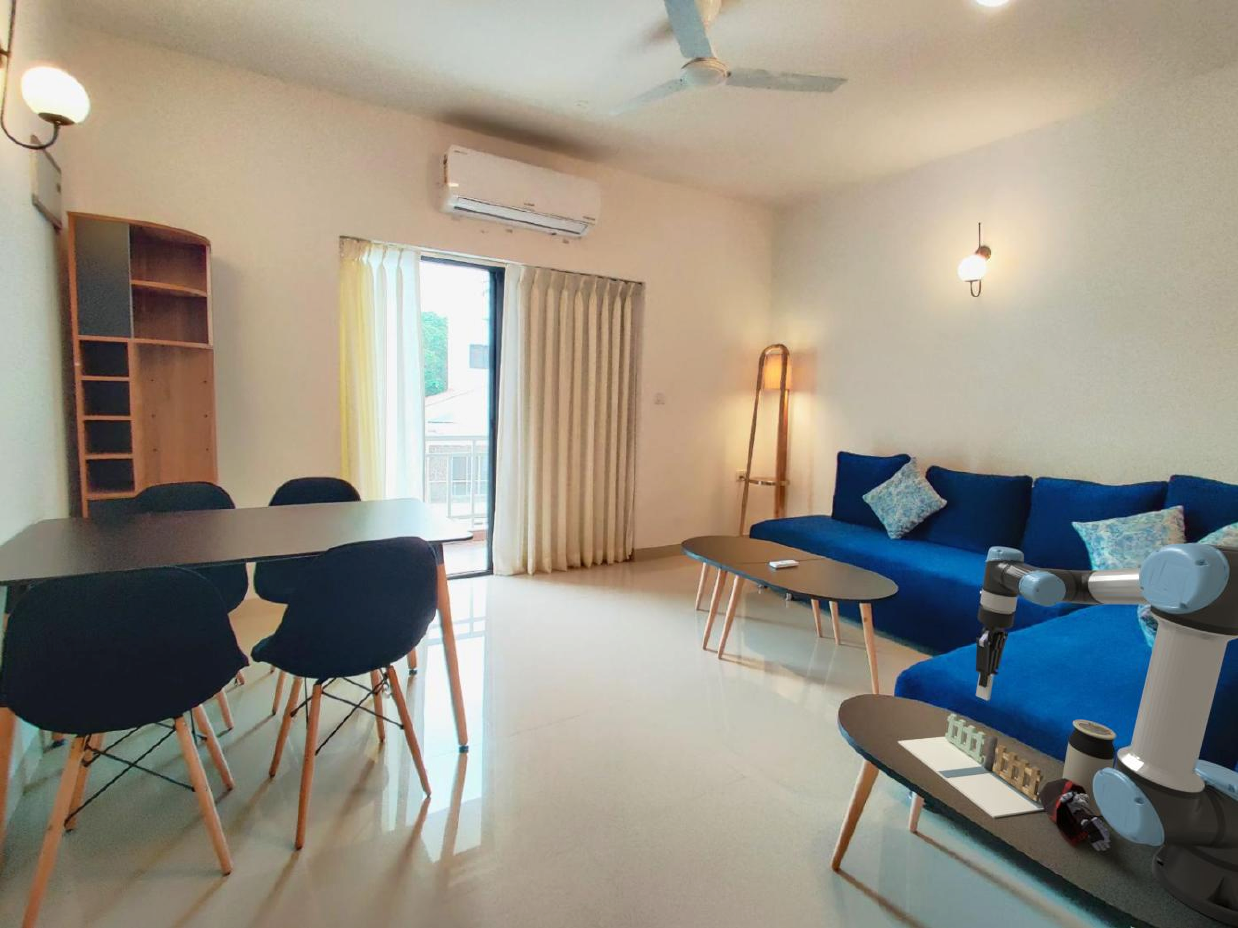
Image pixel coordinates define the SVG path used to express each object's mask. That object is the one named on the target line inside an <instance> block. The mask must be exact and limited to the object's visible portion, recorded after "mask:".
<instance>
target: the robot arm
mask: <svg viewBox="0 0 1238 928" xmlns="http://www.w3.org/2000/svg"><path fill="white" fill-rule="evenodd" d="M986 556H987V557H986V560H985V568H984V573H983V574H984V575H983V581H982V589H981V590H980V591H979V595H981V596H980V601H979V603H980V604H981V605H979V607H978V613H977V620H978V621H979V622H980V623H982V624H983V627H982V629H981V633H980V636H981V637H978V636H977V637H976V638H975V643H976V653H975V654H976V655H975V656H976V657H975V658H976V659H975V670H974V671H976V672H978V673H979V674H978V679H977V680H978V681H977V685H976V693H975V696H976V697H978V698H981V699H983V700H985V701H990V699H991V694H992V687H993V683H994V676H998V675H999V672H998V670H999V669H1000V664H1001V661H1002V657H1003V656H1002V655H1003V652H1004V649H1005V645H1006V642H1007V639H1008V637H1009V633H1008V632H1006V631H1005V629H1006V630H1007V629H1011V628H1012V627H1013V625H1014V620H1015V613H1014V612H1016V607H1017V602H1018V597H1019V596H1020V597H1021V598H1023V599H1026V600H1027V601H1028V602H1031V603H1033V604H1037V605H1039V606H1042V607H1053V606H1054V605H1057V604H1060V603H1072V604H1085V605H1095V606H1104V605H1150V608H1149V613H1150V614H1151V616H1152V617H1153V618H1154V619H1155V621H1157V624H1158V625H1157V629H1156V635H1155V638H1154V641H1153V642H1154V643H1153V647H1152V651H1151V656H1150V660H1149V665H1148V669H1147V672H1146V673H1147V674H1146V677H1145V683H1144V686H1143V690H1142V695H1141V699H1140V703H1139V707H1138V712H1137V717H1136V721H1135V725H1134V729H1133V735H1132V738H1131V743H1130V745H1128V746H1125V747H1122V748H1119V749H1118V751H1117V752H1116V757H1115V761H1114V764H1113V767H1112V768H1105V769H1103V770H1100V771H1098V772H1097V773H1096V774H1095V776H1094V779H1093V793H1094V797H1095V800H1096V803H1097V805H1098V807H1099V808H1100V811H1101V813H1102V815H1101V816H1102V817H1103V818H1104V820H1105V821H1106V822H1107V823H1108V825H1109V826H1110V827H1111V828H1112V829H1113V830H1114V831H1115V832H1116V833H1117V834H1118V835H1120V836H1121V837H1122V838H1125V840H1128V841H1130V842H1132V843H1136V844H1141V845H1142V844H1143V845H1150V846H1153V847H1158V846H1160V847H1159V848H1158V850H1157V852H1155V854H1154V856H1153V858H1152V863H1151V867H1150V868H1151V873H1152V875H1153V877H1154V879H1155V880H1156V881H1157V882H1158V883H1159V885H1160V886H1161V887H1162V888H1164V890H1166V891H1167V892H1168V893H1169V894H1170V895H1172V896H1173V897H1174V898H1175V899H1177V900H1179V901H1180V902H1181V903H1183V904H1184V905H1186V906H1188V907H1190V908H1191V909H1193V910H1195V911H1197V912H1199V911H1200V912H1199V913H1201V914H1202V915H1205V916H1207V917H1209V918H1211V919H1213V918H1214V920H1216V921H1219V922H1220V923H1224V924H1226V925H1227V924H1228V925H1230V926H1232V927H1233V926H1234V927H1238V772H1237V771H1233V770H1231V769H1230V768H1227V767H1224V766H1222V765H1219V764H1218V763H1217V764H1216V763H1213V762H1210V761H1207V760H1203V759H1199V757H1200V754H1201V753H1200V752H1201V748H1202V745H1203V741H1204V737H1205V734H1206V733H1205V732H1206V730H1207V729H1206V728H1207V725H1208V721H1209V718H1210V714H1211V713H1210V712H1211V709H1212V705H1213V701H1214V697H1215V693H1216V689H1217V685H1218V680H1219V678H1220V673H1221V668H1222V666H1223V662H1224V661H1223V660H1224V657H1225V653H1226V649H1227V645H1228V642H1230V641H1232V640H1236V639H1238V546H1233V545H1232V546H1229V545H1220V544H1217V545H1216V544H1205V543H1200V542H1188V543H1171V544H1167V545H1164V546H1161V547H1160V548H1158V549H1155V550H1154V551H1152V552H1151V553H1150V554H1149V555H1148V556H1147V557H1146V558H1145V560H1144V561H1143V562H1142V564H1141V566H1140V567H1136V568H1118V569H1117V568H1115V569H1099V570H1098V569H1097V570H1096V569H1095V570H1074V569H1072V570H1070V569H1069V570H1067V569H1058V568H1046V567H1045V568H1042V567H1036V566H1033V565H1030V564H1028V563H1025V560H1024V559H1025V557H1024V556H1025V554H1024V553H1023V552H1022V551H1021V550H1019V549H1016V548H1012V547H1005V546H999V545H998V546H992V547H990V548H989V550H988V552H987V555H986Z"/></svg>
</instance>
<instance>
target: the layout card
mask: <svg viewBox="0 0 1238 928" xmlns="http://www.w3.org/2000/svg"><path fill="white" fill-rule="evenodd" d="M954 737H955V738H957V735H955V736H954ZM963 743H964V744H965V745H966V741H964V742H963ZM897 744H899V745H900V746H901V747H903V748H904V749H905V750H906V751H908V752H909V753H910V754H912V755H913V756H914V757H916V758H917V759H918V761H920V762H922V763H923V764H924V765H925V766H926V767H929V769H931V771H933V772H934V773H936V774H937V775H938V776H939V777H941V778H942V779H943V780H944V781H945V782H947V783H949V784H950V785H951V786H952V787H953V788H955V789H956V790H957V791H958V792H960V793H961V794H962V795H964V796H965V797H966V799H967V798H968V799H969V800H970V801H971V802H973V803H974V804H975V805H976V806H977V807H979V808H980V809H982V810H983V811H984V812H985V813H986V814H987V815H989V816H990V817H992V818H993V819H995V818H1000V817H1008V816H1015V815H1023V814H1028V813H1036V812H1043V811H1045V810H1044V808H1043V805H1042V803H1041V800H1040V798H1039V801H1035V800H1032V799H1030V798H1029V797H1028V795H1026V794H1025V793H1023V792H1020V791H1019V790H1017V789H1016V787H1015V786H1013V785H1012V784H1009V783H1008V782H1006V781H1005V779H1003V778H1002V777H1001V776H1000V777H999V776H998V775H996V774H995V772H993V771H988V770H986V769H985V768H984V765H985V758H986V755H983V754H982V756H983V757H984V762H983V763H981V762H978V761H976V760H975V759H974V758H973V757H972V756H971V755H968V754H966V753H965V751H964V750H962V749H961V748H960V749H959V748H958V747H957V746H956V745H955V744H954V743H952V742H949V741H948V740H947V739H946V738H945V736H936V737H927V738H925V737H924V738H917V739H907V740H898V741H897ZM975 749H976V748H973V750H974V751H975ZM994 766H996V763H995V762H994ZM1003 771H1005V772H1006V773H1007V770H1005V769H1004V770H1003ZM1014 778H1015V779H1016V780H1018V777H1016V776H1014ZM1025 786H1026V787H1028V788H1029V786H1028V784H1026V785H1025ZM1039 793H1040V792H1037V794H1038V795H1039Z"/></svg>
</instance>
